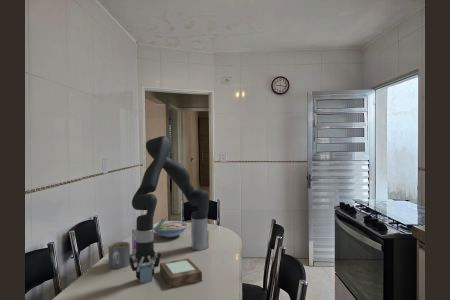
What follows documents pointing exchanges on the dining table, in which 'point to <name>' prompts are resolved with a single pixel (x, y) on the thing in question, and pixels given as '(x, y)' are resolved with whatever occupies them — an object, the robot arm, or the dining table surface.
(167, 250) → the dining table surface
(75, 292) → the dining table surface
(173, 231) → the ramen bowl
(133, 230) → the candy box
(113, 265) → the coffee mug
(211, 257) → the dining table surface
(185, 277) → the walnut base
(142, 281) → the slate block
